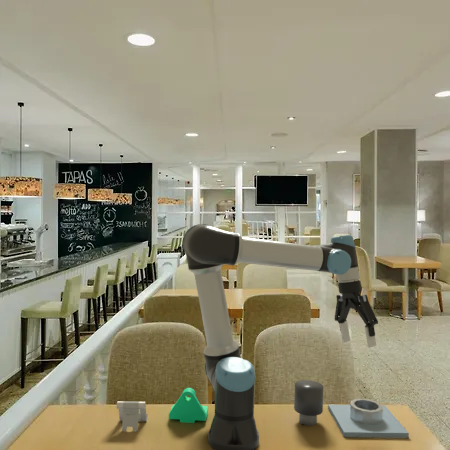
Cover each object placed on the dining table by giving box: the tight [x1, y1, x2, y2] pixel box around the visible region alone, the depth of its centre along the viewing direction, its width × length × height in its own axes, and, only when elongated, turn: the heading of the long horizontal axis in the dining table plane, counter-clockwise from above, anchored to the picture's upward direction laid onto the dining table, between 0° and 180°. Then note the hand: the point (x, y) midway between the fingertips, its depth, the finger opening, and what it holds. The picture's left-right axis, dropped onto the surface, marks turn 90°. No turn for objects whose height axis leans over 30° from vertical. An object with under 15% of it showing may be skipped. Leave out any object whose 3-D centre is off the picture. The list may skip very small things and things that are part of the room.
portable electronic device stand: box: [116, 400, 148, 432], centre depth 145 cm, size 9×8×8 cm
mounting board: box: [327, 403, 410, 439], centre depth 151 cm, size 20×20×2 cm
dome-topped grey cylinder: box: [293, 379, 324, 426], centre depth 151 cm, size 9×9×12 cm
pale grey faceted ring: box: [349, 398, 383, 425], centre depth 151 cm, size 10×10×4 cm
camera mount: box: [168, 387, 209, 424], centre depth 152 cm, size 12×8×10 cm, turn 86°
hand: (358, 344), depth 154 cm, fingers open, 13 cm apart
